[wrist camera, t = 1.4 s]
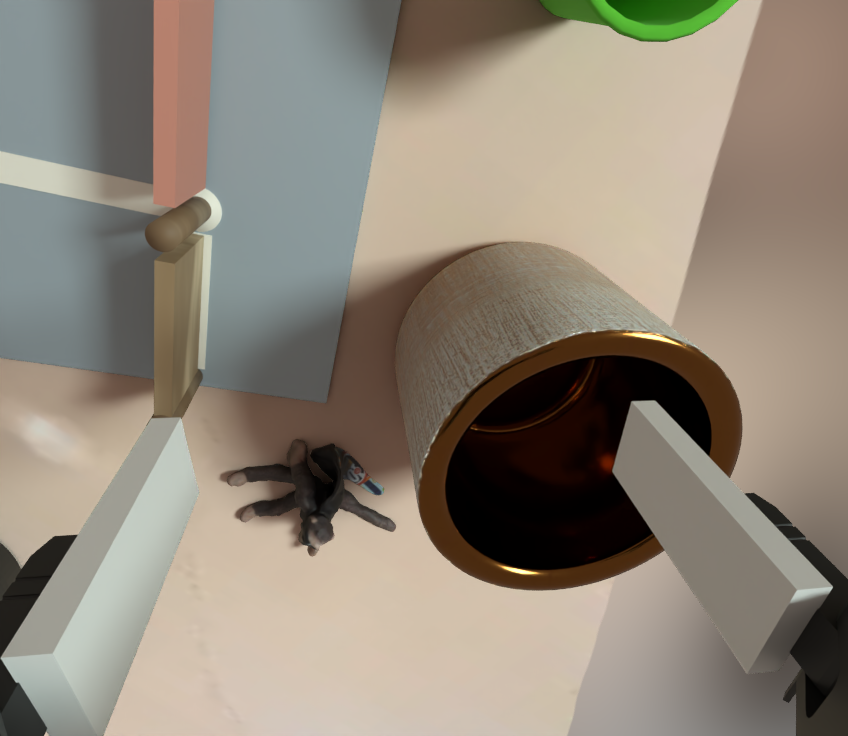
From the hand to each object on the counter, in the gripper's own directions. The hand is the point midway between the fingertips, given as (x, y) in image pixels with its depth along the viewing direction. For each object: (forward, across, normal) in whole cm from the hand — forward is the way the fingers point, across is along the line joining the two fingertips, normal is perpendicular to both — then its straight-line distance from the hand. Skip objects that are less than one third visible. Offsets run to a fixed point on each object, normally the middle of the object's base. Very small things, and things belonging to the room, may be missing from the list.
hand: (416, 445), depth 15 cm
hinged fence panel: (+21, -10, +10) cm, 26 cm away
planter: (+23, +10, -8) cm, 26 cm away
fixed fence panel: (+22, -13, -4) cm, 26 cm away
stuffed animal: (+23, -6, -22) cm, 33 cm away
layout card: (+22, -13, +4) cm, 26 cm away
